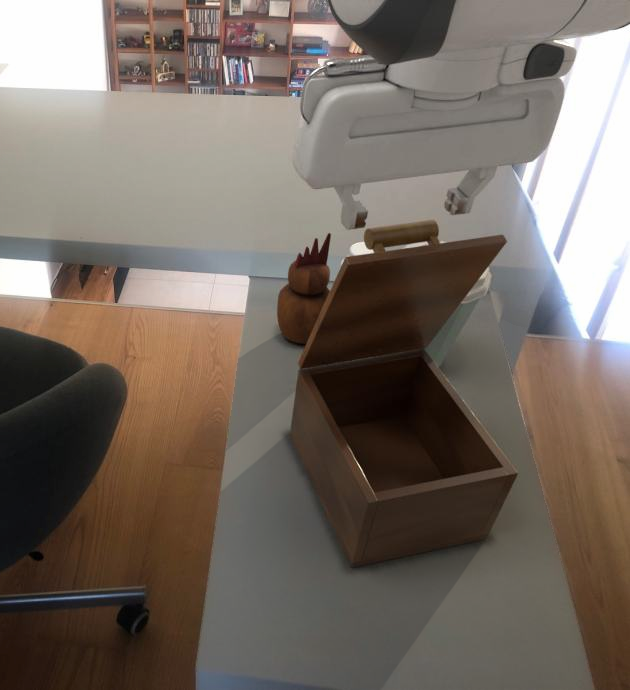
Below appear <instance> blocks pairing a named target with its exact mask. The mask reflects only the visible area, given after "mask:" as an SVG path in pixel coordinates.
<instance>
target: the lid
mask: <svg viewBox="0 0 630 690" xmlns="http://www.w3.org/2000/svg"><path fill="white" fill-rule="evenodd" d="M439 234H440V227H439V225H438V222H437V221H436V220H435V219H427V220H420V221H413V222H412V221H411V222H406V223H405V222H404V223H398V224H390V225H384V226H376V227H369V228H368V227H367V228H366V229H365V230H364V233H363V242H364V243H365V246H366V248H367V249H369V250H372V249H373V252H374V253H370V254H363V255H356V256H349V257H347V256H345V257H344V258H345V259H344V258H343V259H344V261H343V263H342V266H341V268H340V267H339V270H338V272H337V275H336V277H335V279H334V281H333V284H332V286H331V288H330V289H329V291H330V292H329V295H328V297H327V299H326V301H325V304H324V306H323V308H322V310H321V312H320V315H319V317H318V319H317V321H316V324H315V326H314V328H313V330H312V333H311V335H310V337H309V339H308V341H307V344H305V346H304V348H303V351H302V353H301V355H300V357H299V360H298V362H297V364H298V367H299V370H300V369H307V368H312V367H318V366H324V365H330V364H336V363H342V362H348V361H354V360H360V359H366V358H372V357H378V356H384V355H389V354H395V353H401V352H407V351H413V350H419V349H425V348H427V347H428V345H429V344H430V343H431V342H432V340H433V339H434V338H435V336H436V335H437V334H438V332H439V331H440V330H441V328H442V327H443V326H444V324H445V323H446V322H447V320H448V319H449V318H450V317H451V315H452V314H453V313H454V311H455V310H456V309H457V307H458V306H459V305H460V303H461V302H462V301H463V299H464V298H465V297H466V295H467V294H468V293H469V291H470V290H471V289H472V288H473V286H474V285H475V284H476V282H477V281H478V280H479V278H480V277H481V276H482V274H483V273H484V272H485V270H486V269H487V268H488V267H490V265H491V264H492V263H493V261H494V260H495V259H496V257H497V256H498V255H499V254H500V252H501V251H502V249H503V248H504V247H505V245H506V244H507V243H508V240H507V238H506V236H505V234H495V235H490V236H482V237H475V238H474V237H473V238H467V239H461V240H454V241H448V242H447V241H445V242H446V243H440V241H441V240H440V239H439ZM421 242H427V243H428V245H425V246H418V247H411V248H404V247H403V248H404V249H402V248H399V249H391V250H386V248H393V247H400V246H407V245H410V244H414V243H421Z"/></svg>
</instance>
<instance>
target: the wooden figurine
mask: <svg viewBox="0 0 630 690" xmlns="http://www.w3.org/2000/svg"><path fill="white" fill-rule="evenodd" d="M331 238H332V234H331V233H330V232H328V233H327V235H326V237H325V239H324V241H323V243H322V245H321V247H320V249H319V239H318V237H315V238H314V241H313V244H312V247H311V250H310V247H309V246H306V247H305V248H304V252H303V254H302V253H301V252H298V254H297V256H296V260H294V261H293V262H292V263H291V264H290V265H289V267H288V271H287V281H288V283H286V284H285V285H284V286H283V287H282V288H281V289H280V290H279V293H278V294H277V295H278V296H277V304H276V305H277V306H276V317H277V323H278V327H279V330H280V333H281V334H282V337H284V338H285V339H286V340H288V341H290V342H292V343H296V344H301V345H302V344H305V345H306V344H307V341H308V339H309V337H310V335H311V333H312V330H313V328H314V326H315V324H316V321H317V319H318V317H319V315H320V312H321V310H322V308H323V306H324V304H325V301H326V299H327V297H328V295H329V292H330V289H329V288H328V285H329V283H330V279H331V269H330V267H329V266H328V258H329V251H330V244H331Z"/></svg>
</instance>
